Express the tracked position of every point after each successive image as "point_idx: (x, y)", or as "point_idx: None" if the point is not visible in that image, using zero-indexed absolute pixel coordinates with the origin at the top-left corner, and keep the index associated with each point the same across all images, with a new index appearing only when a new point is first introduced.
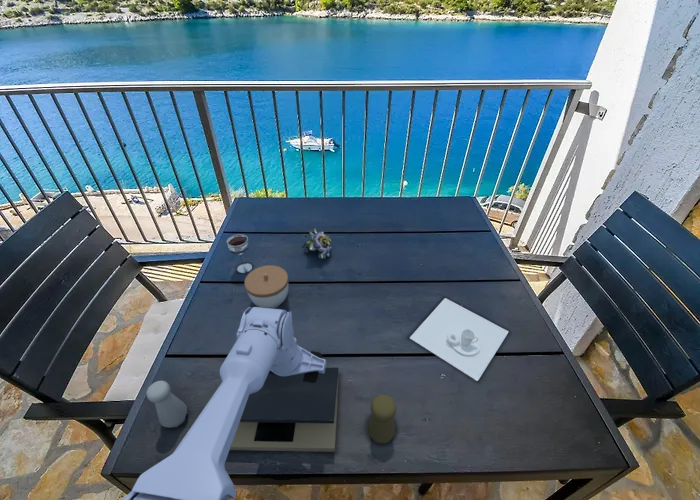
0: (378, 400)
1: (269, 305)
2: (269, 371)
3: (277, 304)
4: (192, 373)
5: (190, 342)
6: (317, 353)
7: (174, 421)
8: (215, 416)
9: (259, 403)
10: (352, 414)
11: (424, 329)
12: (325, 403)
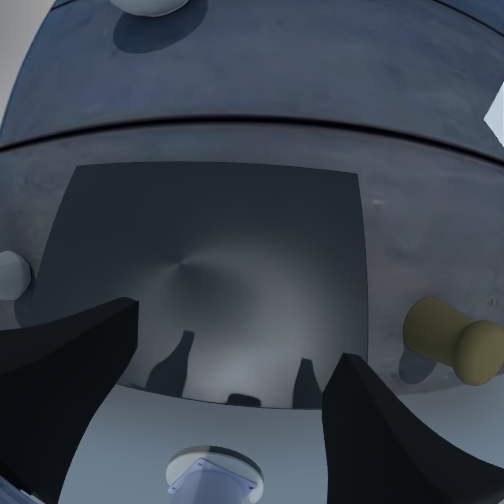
0: (486, 351)
1: (154, 5)
2: (82, 430)
3: (175, 1)
4: (25, 180)
5: (22, 117)
6: (492, 501)
7: (10, 297)
8: None
9: None
10: (377, 294)
11: (500, 110)
12: (339, 336)
